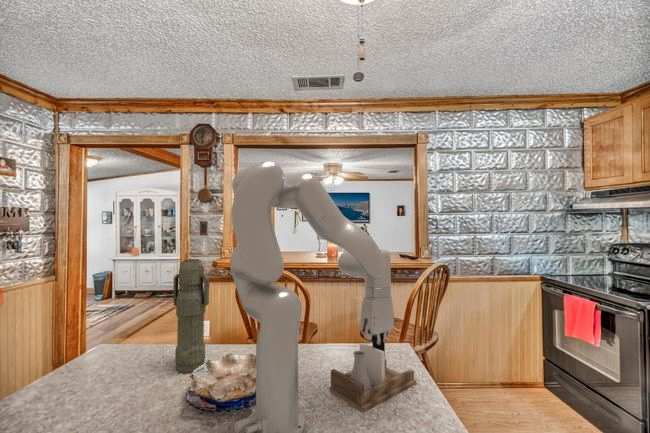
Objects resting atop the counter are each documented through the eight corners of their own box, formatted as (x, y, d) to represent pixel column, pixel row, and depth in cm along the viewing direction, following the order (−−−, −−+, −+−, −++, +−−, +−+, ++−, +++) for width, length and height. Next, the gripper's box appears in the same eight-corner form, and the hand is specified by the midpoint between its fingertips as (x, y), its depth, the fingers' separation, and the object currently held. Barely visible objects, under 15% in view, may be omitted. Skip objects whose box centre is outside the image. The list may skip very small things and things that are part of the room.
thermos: (203, 374, 97) (204, 261, 99) (165, 374, 97) (167, 261, 99) (213, 362, 106) (214, 258, 107) (179, 362, 106) (180, 258, 108)
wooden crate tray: (363, 412, 76) (363, 387, 76) (329, 391, 86) (328, 369, 86) (416, 383, 90) (416, 362, 90) (381, 368, 100) (381, 349, 100)
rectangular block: (382, 390, 84) (381, 352, 84) (360, 379, 90) (359, 344, 91) (385, 388, 85) (384, 351, 85) (363, 377, 91) (362, 343, 92)
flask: (372, 398, 80) (371, 359, 81) (344, 396, 82) (344, 357, 82) (373, 385, 87) (373, 348, 88) (348, 382, 89) (347, 347, 89)
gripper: (384, 287, 98) (385, 346, 97) (350, 293, 89) (350, 359, 88) (404, 291, 92) (405, 354, 91) (369, 298, 83) (370, 368, 82)
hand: (378, 356), depth 90 cm, fingers closed
